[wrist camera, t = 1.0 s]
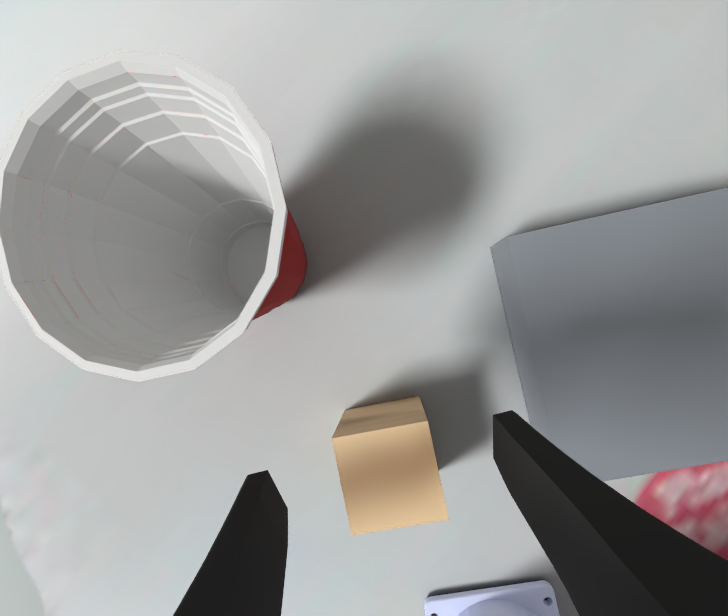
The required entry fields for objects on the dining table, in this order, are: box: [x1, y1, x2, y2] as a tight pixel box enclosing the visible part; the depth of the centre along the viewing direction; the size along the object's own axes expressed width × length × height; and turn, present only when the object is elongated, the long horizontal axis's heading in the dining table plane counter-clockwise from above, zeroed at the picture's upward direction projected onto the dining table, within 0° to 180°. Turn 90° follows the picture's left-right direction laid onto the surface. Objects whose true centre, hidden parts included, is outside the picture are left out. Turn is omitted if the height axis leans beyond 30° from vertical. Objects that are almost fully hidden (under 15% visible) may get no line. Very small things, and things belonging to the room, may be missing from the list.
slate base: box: [490, 187, 728, 481], centre depth 19 cm, size 14×14×3 cm
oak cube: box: [332, 396, 449, 535], centre depth 19 cm, size 5×5×5 cm
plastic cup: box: [0, 50, 307, 382], centre depth 16 cm, size 11×11×12 cm
